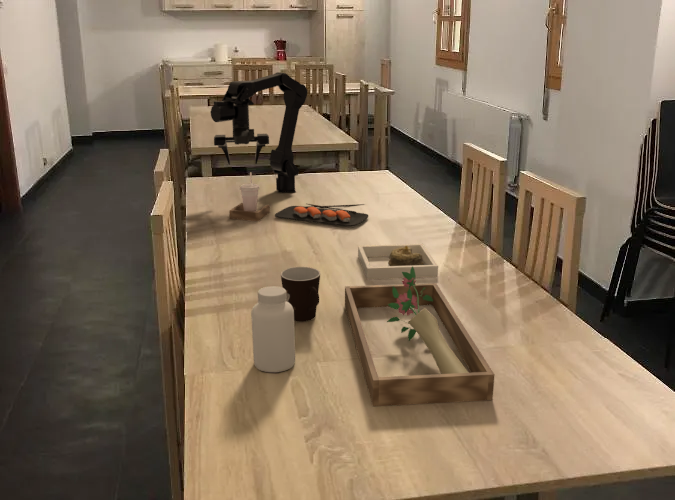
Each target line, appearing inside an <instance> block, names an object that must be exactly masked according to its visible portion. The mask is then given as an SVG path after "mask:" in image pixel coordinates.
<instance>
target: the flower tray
mask: <svg viewBox="0 0 675 500" xmlns="http://www.w3.org/2000/svg"><path fill="white" fill-rule="evenodd" d="M393 286H394V287H395V288H396V290H397V292H398V294H399V296H400V294H401V295H403V294H404V293H407V292H408V290H409V288H408V287H407V288H406V287H405V286H404V284H403V283H402V284H399V283H398V284H379V285H375V284H373V285H371V284H370V285H352V286H351V285H350V286H348V285H347V286H346V285H345V286H344V309H345V312H346V316H347V319H348V323H349V324H348V325H349V326H350V331H351V334H352V338H353V341H354V344H355V348H356V352H357V355H358V358H359V362H360V366H361V369H362V373H363V376H364V377H363V378H364V380H365V383H366V386H367V391H368V395H369V398H370V401H371V405H372V407H384V406H404V405H407V406H408V405H423V404H440V403H441V404H443V403H445V404H446V403H461V402H463V403H464V402H465V403H466V402H479V401H481V402H484V401H493V400H494V399H493V398H494V397H493V396H494V387H495V386H494V385H495V373H494V371H493V369H492V368H491V367H490V365H489V363H488V362H487V360H486V359H485V358H484V356H483V354H482V353H481V351H480V349H479V348H478V345H476V343H475V341H474V340H473V338H472V337H471V336H470V333H469V332H468V330H467V329H466V327H465V326H464V324H463V323H462V321H461V320H460V318H459V317H458V315H457V313H456V312H455V310H454V309H453V307H452V305H451V304H450V302H449V301H448V299H447V298H446V296H445V294H444V292H443V291H442V290H441V288H440V287H439V285H438V284H437V282H434V283H416V284H415V285H413V286H414V287H415V288H416V290H417V292H418V298H419V307H422V306H432V308H433V309H434V312H435V313H436V315H437V317H438V318H439V320H440V322H441V324H442V326H444V328H445V331H446V333H447V334H448V335H449V337H450V339H451V341H452V342H453V345H454V347H455V348H456V349H457V351H458V352H459V354H460V357H461V359H462V360H463V361H464V363H465V365H466V366H467V369H468V370H469V372H468V373H454V374H441V373H439V374H438V373H437V374H416V375H397V376H396V375H395V376H379V375H378V371H377V368H376V367H375V366H376V365H375V362H374V360H373V356H372V353H371V350H370V347H369V344H368V341H367V340H368V339H367V337H366V334H365V332H364V328H363V325H362V321H361V318H360V315H359V312H358V309H366V308H367V309H369V308H370V309H372V308H373V309H374V308H391V307H390V306H389V305H388V304H390V303H396V302H397V298H394V296H393V292H392V290H393ZM408 286H409V285H408ZM413 286H412V287H410V290H411V293H412V296H413V295H415V297H417V293H416V291H415V289H414V287H413ZM424 287H425V289H424V290H423V288H424ZM422 290H423V291H422ZM421 291H422V292H421ZM420 292H421V293H420ZM419 295H420V296H419ZM425 295H429V296H430V297H431V298H432V299H433V301H427V300H423V297H424V296H425ZM399 296H398V297H399ZM421 296H422V297H421ZM416 302H417V301H416Z"/></svg>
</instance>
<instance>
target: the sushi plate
mask: <svg viewBox="0 0 675 500" xmlns="http://www.w3.org/2000/svg"><path fill="white" fill-rule="evenodd" d="M307 205H309V206H303V205H291V206H287V207H284V209H281V210H278V211H277V212H276V213H275V214H274V217H276V218H278V219H285V220H292V221H300V222H308V223H316V224H323V225H332V226H342V227H356V226H359V225H360V224H361V223H363V222H364V221H366V220H367V219H368V218H369V214H367V213H364V212H357V211H355V210H350V209H349V210H348V209H343V208H345V207H357V206H364V205H365V204H364V203H362V204H343V205H342V204H338V205H335V204H334V205H319V204H318V205H317V204H312V203H307ZM341 207H343V208H341ZM340 208H341V209H340Z"/></svg>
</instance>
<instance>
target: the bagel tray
mask: <svg viewBox="0 0 675 500" xmlns="http://www.w3.org/2000/svg"><path fill="white" fill-rule="evenodd" d="M405 246H408V247H409V248H412V253H418V254H421V255H422V259H423V261H424V262H425V264H424V265H414V266H413V268H414V270H415V275H416V277H415V278H416V279H424V278H438V277H439V276H438V275H439V265H438V264H437V262H436V260H435V259H434V257H433V256H432V254H431V253H430V252H429V250H428V249H427V248H426V246H425V245H424V244H423V243H408V244H407V243H405V244H402V243H400V244H377V245H376V244H374V245H371V244H369V245H357V257H358V260H359V263H360V265H361V268H362V270H363V273H364V275H365V278H366V280H367V281H368V280H391V279H392V280H393V279H394V280H398V279H404V276H403V274H402V272H408V273H410V270H411V268H412V266H389V265H388V266H387V265H385V266H371V265H370V262H369V259H368V258H376V257H377V258H380V257H382V258H383V257H389V256H390V254H391V252H392V251H393V250H394V249H396V248H400V247H405Z"/></svg>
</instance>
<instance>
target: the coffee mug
mask: <svg viewBox="0 0 675 500" xmlns="http://www.w3.org/2000/svg"><path fill="white" fill-rule="evenodd" d="M280 279H281V281H280V282H281V285H282V286H281V287H282V288H284V289H285V290H286V295H287V298H286V301H287V302H289V303H290V304H291V305H292V307H293V310H294V322H297V323H300V322H301V323H305V322H310V321H312V320H314V319H315V318H316V315H317V314H316V313H317V307H318V305H319V303H320V295H319V289H320V280H321V271H320V270H319V269H317V268H314V267H310V266H291V267H288V268H286V269H283V270H281V272H280Z"/></svg>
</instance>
